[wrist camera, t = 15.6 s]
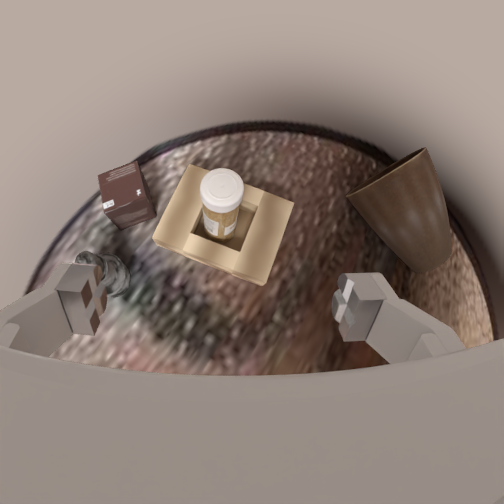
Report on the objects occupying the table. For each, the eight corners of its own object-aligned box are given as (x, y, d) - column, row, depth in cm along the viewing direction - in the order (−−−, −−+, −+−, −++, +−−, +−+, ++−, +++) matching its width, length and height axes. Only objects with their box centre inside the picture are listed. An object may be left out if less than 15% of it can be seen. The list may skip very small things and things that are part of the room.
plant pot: (447, 230, 47) (406, 154, 46) (489, 241, 32) (440, 139, 32) (384, 274, 50) (339, 197, 49) (411, 299, 36) (354, 194, 35)
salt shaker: (117, 250, 41) (86, 222, 29) (140, 282, 40) (113, 263, 28) (88, 275, 39) (49, 256, 28) (110, 307, 38) (73, 298, 27)
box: (148, 183, 44) (138, 159, 37) (157, 218, 43) (147, 197, 35) (112, 196, 43) (96, 174, 35) (119, 231, 41) (103, 213, 34)
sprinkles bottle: (239, 240, 43) (249, 201, 30) (207, 247, 42) (204, 210, 29) (231, 210, 44) (238, 162, 31) (200, 217, 43) (195, 171, 30)
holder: (288, 212, 45) (294, 202, 42) (262, 286, 42) (266, 282, 38) (190, 175, 45) (189, 163, 41) (156, 244, 41) (152, 237, 38)
